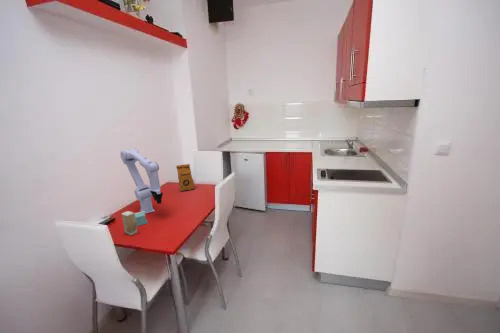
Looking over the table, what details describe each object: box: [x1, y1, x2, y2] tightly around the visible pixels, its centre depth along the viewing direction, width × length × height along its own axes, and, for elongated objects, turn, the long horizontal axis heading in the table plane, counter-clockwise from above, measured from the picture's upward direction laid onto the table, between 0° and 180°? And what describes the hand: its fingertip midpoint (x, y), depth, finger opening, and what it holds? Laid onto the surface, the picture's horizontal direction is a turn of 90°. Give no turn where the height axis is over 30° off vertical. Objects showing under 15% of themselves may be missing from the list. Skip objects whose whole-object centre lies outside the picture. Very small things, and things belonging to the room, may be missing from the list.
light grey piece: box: [134, 211, 146, 220], centre depth 150 cm, size 13×12×4 cm
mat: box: [136, 219, 149, 227], centre depth 150 cm, size 7×7×1 cm
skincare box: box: [121, 210, 138, 236], centre depth 137 cm, size 6×4×12 cm
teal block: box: [135, 213, 147, 226], centre depth 149 cm, size 5×5×5 cm
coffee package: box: [175, 163, 195, 192], centre depth 203 cm, size 10×12×22 cm
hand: (157, 201), depth 155 cm, fingers open, 7 cm apart
